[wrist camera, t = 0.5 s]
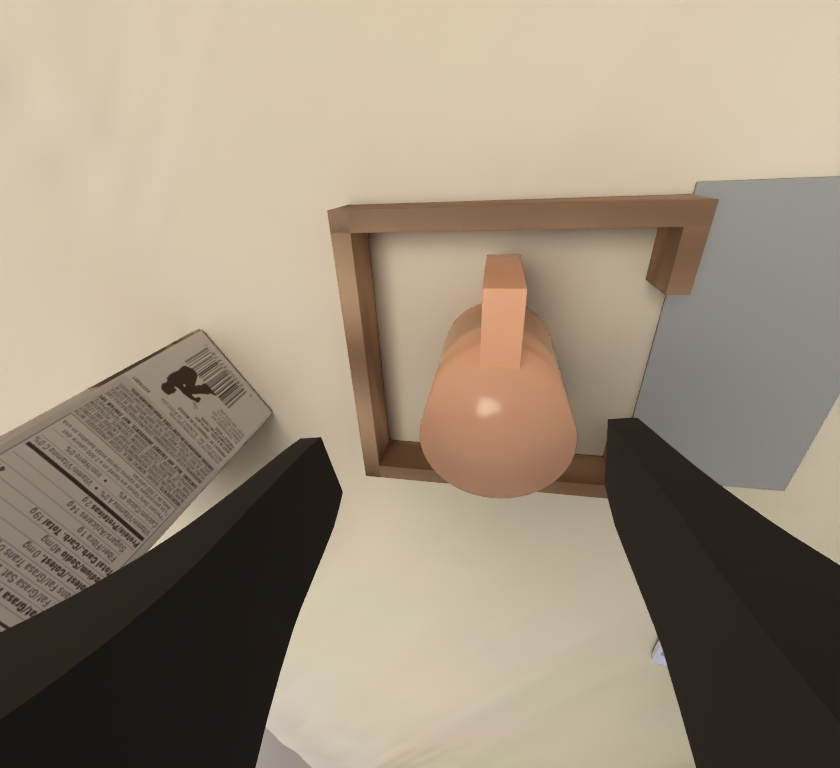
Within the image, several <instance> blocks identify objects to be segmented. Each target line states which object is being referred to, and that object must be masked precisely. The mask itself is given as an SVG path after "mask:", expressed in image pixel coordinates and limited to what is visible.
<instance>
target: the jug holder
mask: <svg viewBox="0 0 840 768" xmlns="http://www.w3.org/2000/svg"><path fill="white" fill-rule="evenodd" d="M718 202H719V199H715V198H709V197H703V196H698V195H692V194H681V195H650V196H618V197H587V198H555V199H524V200H493V201H461V202H430V203H398V204H367V205H346V206H342V207H339V208H335V209H332V210H328V211H327V212H328V219H329V225H330V232H331V239H332V246H333V253H334V260H335V266H336V273H337V280H338V287H339V294H340V301H341V307H342V314H343V321H344V328H345V335H346V342H347V348H348V355H349V362H350V369H351V376H352V383H353V389H354V396H355V403H356V410H357V417H358V424H359V430H360V437H361V444H362V451H363V458H364V465H365V471H366V476H375V477H385V478H396V479H407V480H417V481H428V482H439V483H448V482H447V481H446V480H444V479H443V478H442V477H441V476H440V475H439V474H437V473H436V472H435V470H434V469H433V468H432V467H431V466H430V464H429V462H428V461H427V459H426V457H425V455H424V453H423V450H422V447H421V443H420V442H407V441H394V440H389V435H388V425H387V415H386V405H385V395H384V386H383V376H382V366H381V356H380V346H379V336H378V327H377V317H376V307H375V297H374V287H373V278H372V268H371V258H370V248H369V238H368V233H375V232H428V231H482V230H535V229H589V228H642V227H658V231H657V236H656V240H655V244H654V248H653V252H652V256H651V260H650V265H649V269H648V273H647V277H646V280H648V281H649V282H650V283H651V284H653V285H654V286H655V287H656V288H658V289H659V290H660V291H661V292H663V293H664V294H665V295H690V294H691V291H692V287H693V284H694V281H695V277H696V274H697V271H698V268H699V264H700V261H701V258H702V254H703V251H704V248H705V244H706V241H707V238H708V235H709V231H710V228H711V225H712V221H713V218H714V215H715V211H716V208H717V205H718ZM606 450H607V443H606V447H605V451H604V455H603V457H602V456H589V455H576V454H574V457H573V459H572V461H571V463H570V465H569V466H568V468H567V469H566V471H565V472H564V473H563V474H562V475H561V476H560V477H559V478H558V479H557V480H555V481H554V482H553V483H551V484H550V485H548V486H547V487H545V488H543V489H541V490H539V491H537V492H545V493H555V494H566V495H576V496H587V497H598V498H608V496H607V492H606V488H605V469H606ZM449 484H450V483H449Z"/></svg>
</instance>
